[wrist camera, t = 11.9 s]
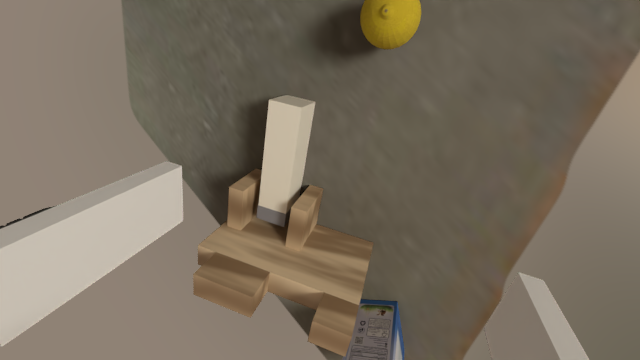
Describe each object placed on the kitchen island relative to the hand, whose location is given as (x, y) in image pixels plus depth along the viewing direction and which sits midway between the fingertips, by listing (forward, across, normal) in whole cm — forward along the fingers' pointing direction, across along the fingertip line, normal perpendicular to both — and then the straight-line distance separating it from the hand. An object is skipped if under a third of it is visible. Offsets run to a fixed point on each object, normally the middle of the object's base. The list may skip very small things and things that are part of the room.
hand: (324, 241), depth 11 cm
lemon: (+27, -2, +10) cm, 29 cm away
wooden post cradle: (+27, -7, -16) cm, 32 cm away
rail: (+27, -11, -8) cm, 30 cm away
